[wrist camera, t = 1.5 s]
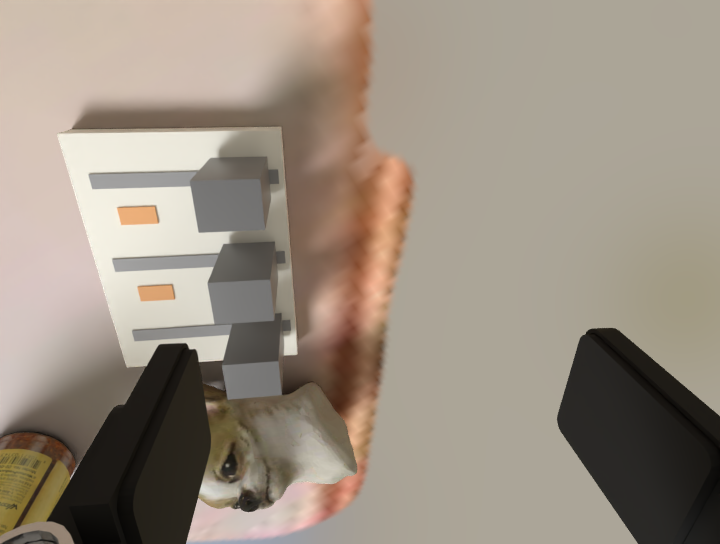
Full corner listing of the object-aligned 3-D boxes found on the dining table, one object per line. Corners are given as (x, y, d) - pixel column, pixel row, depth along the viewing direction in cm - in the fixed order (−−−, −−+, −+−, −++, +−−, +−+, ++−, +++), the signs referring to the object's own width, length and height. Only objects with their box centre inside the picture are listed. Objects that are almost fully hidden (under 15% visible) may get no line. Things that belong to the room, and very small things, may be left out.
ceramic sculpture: (366, 547, 29) (141, 575, 28) (358, 444, 36) (181, 465, 36) (350, 431, 24) (81, 463, 24) (345, 341, 32) (142, 364, 31)
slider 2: (223, 243, 25) (207, 283, 21) (275, 241, 26) (270, 279, 21) (228, 280, 26) (214, 324, 22) (278, 277, 27) (274, 320, 22)
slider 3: (234, 316, 27) (221, 365, 23) (281, 313, 28) (278, 361, 23) (238, 346, 28) (227, 399, 24) (284, 343, 29) (281, 395, 24)
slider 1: (210, 157, 23) (189, 180, 19) (267, 156, 23) (259, 178, 19) (217, 201, 24) (198, 232, 20) (271, 199, 24) (265, 230, 20)
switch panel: (70, 129, 23) (56, 134, 22) (281, 126, 25) (280, 130, 23) (134, 353, 30) (126, 368, 28) (297, 342, 31) (297, 355, 30)
